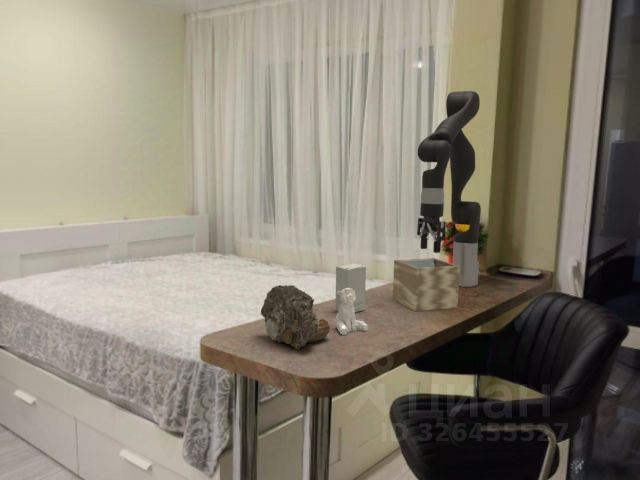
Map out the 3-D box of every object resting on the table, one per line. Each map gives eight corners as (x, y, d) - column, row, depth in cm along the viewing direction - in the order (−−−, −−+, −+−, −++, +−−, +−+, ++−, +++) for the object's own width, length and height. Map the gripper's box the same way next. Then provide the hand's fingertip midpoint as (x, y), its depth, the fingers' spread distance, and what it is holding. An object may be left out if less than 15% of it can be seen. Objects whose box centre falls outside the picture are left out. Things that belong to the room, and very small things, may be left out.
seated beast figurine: (341, 336, 143) (342, 293, 141) (324, 327, 150) (325, 287, 148) (369, 331, 148) (370, 289, 146) (351, 323, 155) (352, 283, 153)
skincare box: (353, 306, 173) (354, 262, 171) (366, 310, 169) (367, 265, 167) (334, 310, 168) (334, 265, 166) (346, 315, 163) (347, 268, 161)
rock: (262, 280, 132) (312, 264, 140) (252, 310, 143) (299, 294, 151) (296, 340, 124) (347, 320, 132) (283, 368, 135) (331, 348, 142)
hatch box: (432, 296, 189) (434, 258, 187) (457, 307, 174) (459, 266, 172) (392, 299, 184) (394, 260, 182) (414, 311, 169) (416, 268, 167)
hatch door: (432, 260, 186) (433, 258, 185) (442, 293, 180) (444, 292, 179) (399, 261, 182) (400, 260, 181) (408, 295, 176) (409, 294, 175)
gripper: (454, 203, 167) (451, 253, 169) (431, 200, 180) (429, 247, 182) (433, 203, 164) (431, 254, 166) (411, 200, 178) (409, 248, 180)
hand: (430, 250), depth 174 cm, fingers open, 8 cm apart
